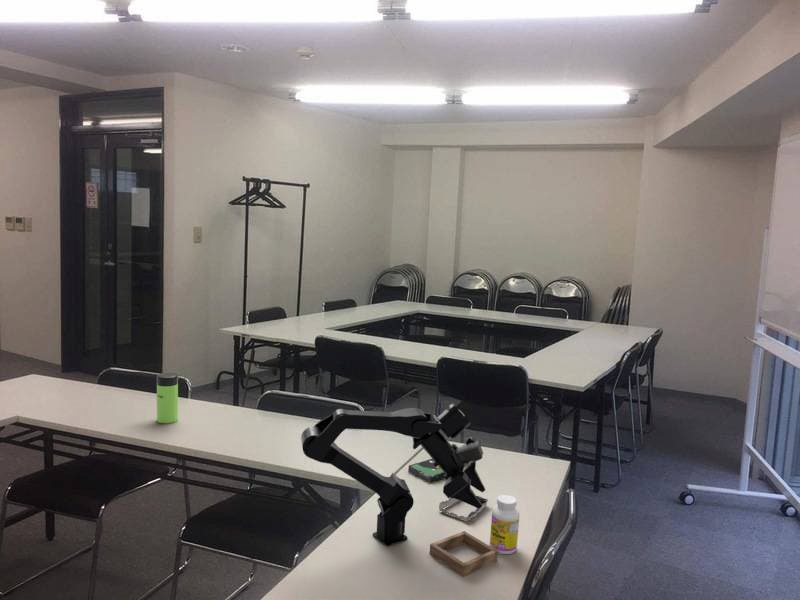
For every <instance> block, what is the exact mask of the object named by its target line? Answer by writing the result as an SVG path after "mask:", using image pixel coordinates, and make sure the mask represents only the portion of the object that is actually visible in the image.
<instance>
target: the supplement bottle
mask: <svg viewBox="0 0 800 600" xmlns="http://www.w3.org/2000/svg"><path fill="white" fill-rule="evenodd" d="M517 502H518V501H517V499H516V498H515V497H514V496H512V495H508V494H502V495H499V496H497V498H496V503H497V505H495V506H494V507H493V508H492V512H491V523H490V534H489V546H490V547H492V548H494V549H495V550H497V551H498V554H502V555H510V554H513V553H515V552H516V550H518V549H517V546H518V536H519V527H520V526H519V525H520V512H519V510H518V508H517Z"/></svg>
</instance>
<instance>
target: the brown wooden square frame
mask: <svg viewBox="0 0 800 600" xmlns="http://www.w3.org/2000/svg"><path fill="white" fill-rule="evenodd" d="M462 544H465V545H466V546H468V547H469V548H470V549H472V550H474V551H476V552H478V553H479V554H480V555H478V556H477V557H474V558H471V559H469V560H467V561H465V562H464V561H462V560H460V559H459V558H457V557H456V556H454V555H452V554H451V553H449V552H448V550H450V549H452V548H454V547H457V546H460V545H462ZM429 555H431V556H432V557H434V558H435V559H436V560H438V561H439V562H441V563H442V564H444V565H445V566H447V567H448V568H450V569H451V570H452V571H454V572H455V573H457V574H458V575H460V576H461V577H465V576H467V575H470V574H471V573H473V572H476V571H479V570H481V569H483V568H485V567H487V566H489V565H491V564H493V563H496V562H498V558H499V556H498V555H499V553H498V551H497V550H495V549H494V548H492V547H490V544H487V543H485V542H484V541H482V540H481V539H479V538H477V537H475V536H473V535H471V534H470V533H469V532H467V531H465V530H463V531H460V532H457V533H456V534H453V535H450V536H447V537H445V538H442V539H439V540H438V541H435V542H431V543H430V545H429Z"/></svg>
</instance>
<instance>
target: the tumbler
mask: <svg viewBox="0 0 800 600" xmlns="http://www.w3.org/2000/svg"><path fill="white" fill-rule="evenodd" d="M178 381H179V374H178V373H176V372H175V373H174V372H161V373H158V374H157V375H156V421H157V423H158V424H159V423H160V424H174V423H176V422H177V421H178V420H179V414H178V413H179V382H178Z"/></svg>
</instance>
